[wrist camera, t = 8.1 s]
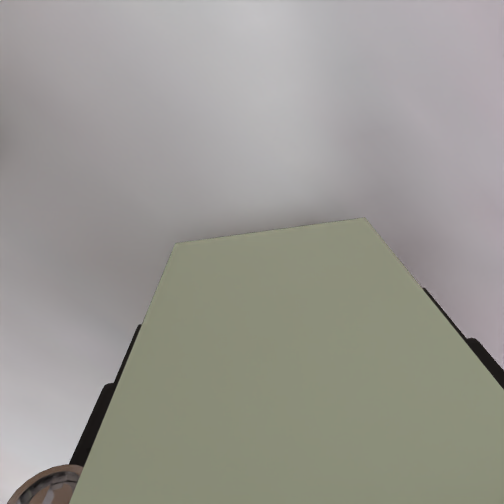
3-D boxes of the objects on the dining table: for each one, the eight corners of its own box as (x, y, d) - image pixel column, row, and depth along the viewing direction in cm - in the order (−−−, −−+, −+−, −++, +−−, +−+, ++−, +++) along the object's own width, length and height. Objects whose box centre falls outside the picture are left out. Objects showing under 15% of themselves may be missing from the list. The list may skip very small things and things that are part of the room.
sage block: (175, 243, 13) (33, 588, 4) (364, 217, 12) (613, 525, 4) (207, 398, 14) (153, 859, 6) (374, 377, 14) (559, 824, 6)
